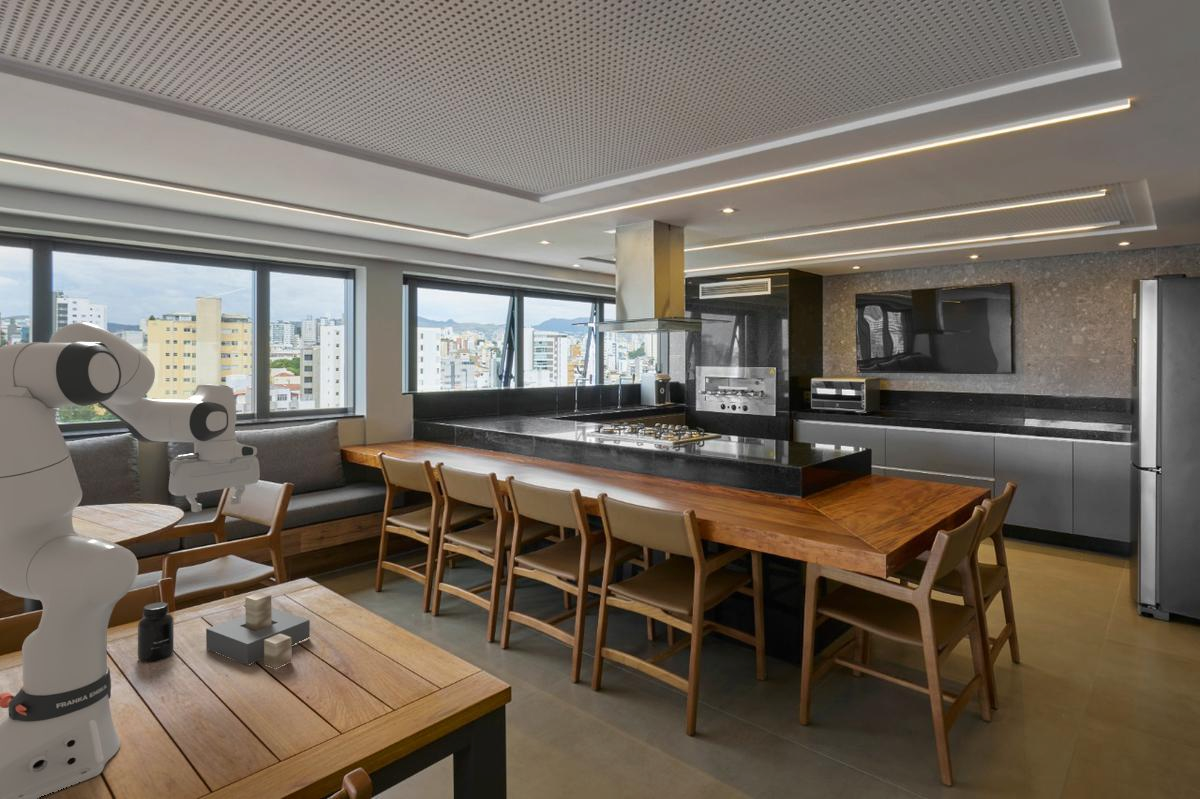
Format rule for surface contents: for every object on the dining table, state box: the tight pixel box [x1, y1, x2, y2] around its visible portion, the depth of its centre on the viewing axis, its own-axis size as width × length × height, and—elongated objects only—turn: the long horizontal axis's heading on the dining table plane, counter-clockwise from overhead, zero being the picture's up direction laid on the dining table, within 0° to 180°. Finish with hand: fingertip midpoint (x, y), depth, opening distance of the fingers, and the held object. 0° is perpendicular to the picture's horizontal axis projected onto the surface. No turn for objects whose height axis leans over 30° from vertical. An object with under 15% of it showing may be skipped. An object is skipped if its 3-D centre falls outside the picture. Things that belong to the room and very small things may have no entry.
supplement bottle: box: [137, 601, 175, 663], centre depth 148 cm, size 7×7×12 cm
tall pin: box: [244, 591, 272, 631], centre depth 155 cm, size 4×4×12 cm
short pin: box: [263, 634, 293, 669], centre depth 146 cm, size 4×4×6 cm
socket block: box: [205, 607, 311, 666], centre depth 156 cm, size 16×16×5 cm
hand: (216, 507), depth 155 cm, fingers open, 8 cm apart
